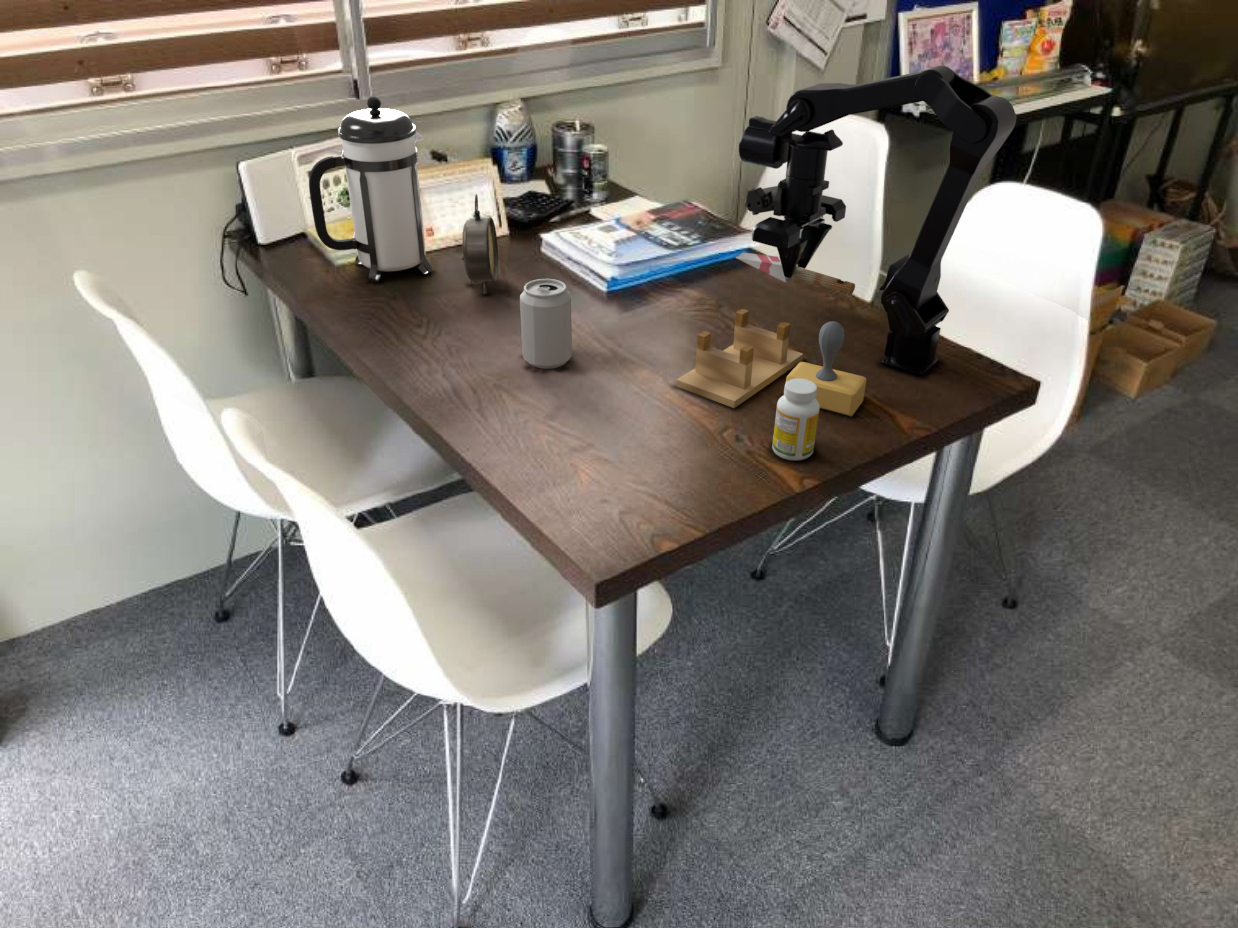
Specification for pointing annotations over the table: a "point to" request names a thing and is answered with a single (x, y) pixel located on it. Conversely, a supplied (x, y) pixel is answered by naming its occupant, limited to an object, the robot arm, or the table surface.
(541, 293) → the can
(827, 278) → the paintbrush
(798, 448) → the supplement bottle
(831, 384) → the rubber stamp
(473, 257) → the alarm clock
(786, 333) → the brush rack
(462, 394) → the table surface
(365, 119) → the coffee press
